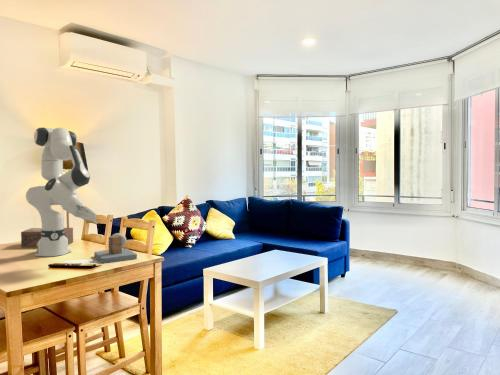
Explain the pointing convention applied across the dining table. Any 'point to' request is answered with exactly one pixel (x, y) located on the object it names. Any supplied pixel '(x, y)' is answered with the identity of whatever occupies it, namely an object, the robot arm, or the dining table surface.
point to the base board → (115, 256)
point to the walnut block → (115, 245)
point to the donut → (122, 238)
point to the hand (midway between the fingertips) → (92, 222)
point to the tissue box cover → (34, 235)
